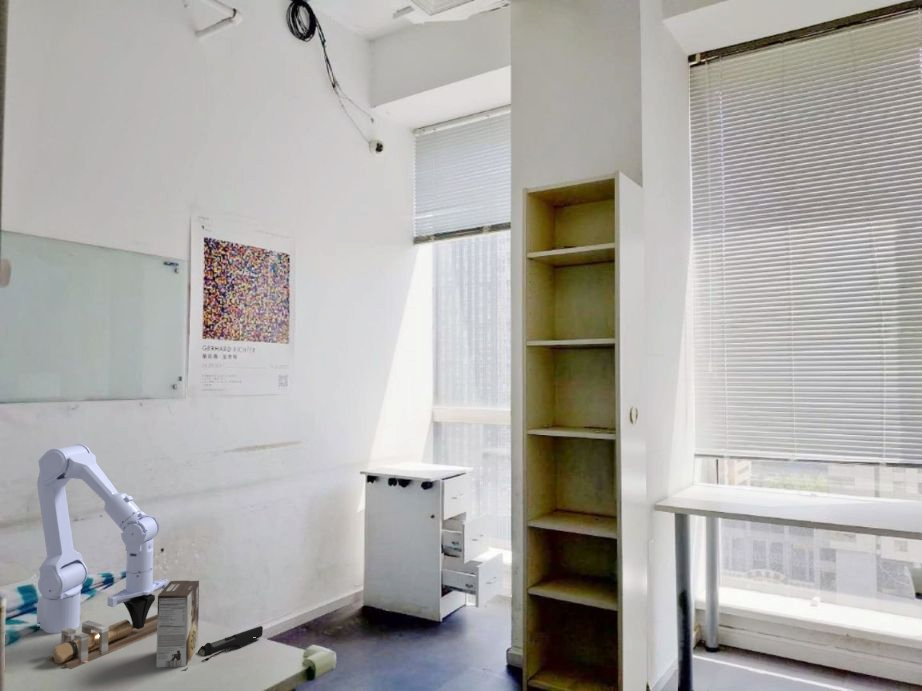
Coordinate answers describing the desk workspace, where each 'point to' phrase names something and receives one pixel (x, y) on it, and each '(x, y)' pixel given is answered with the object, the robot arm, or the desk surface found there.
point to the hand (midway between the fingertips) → (138, 627)
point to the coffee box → (177, 623)
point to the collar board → (102, 641)
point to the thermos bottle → (91, 641)
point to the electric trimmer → (231, 642)
